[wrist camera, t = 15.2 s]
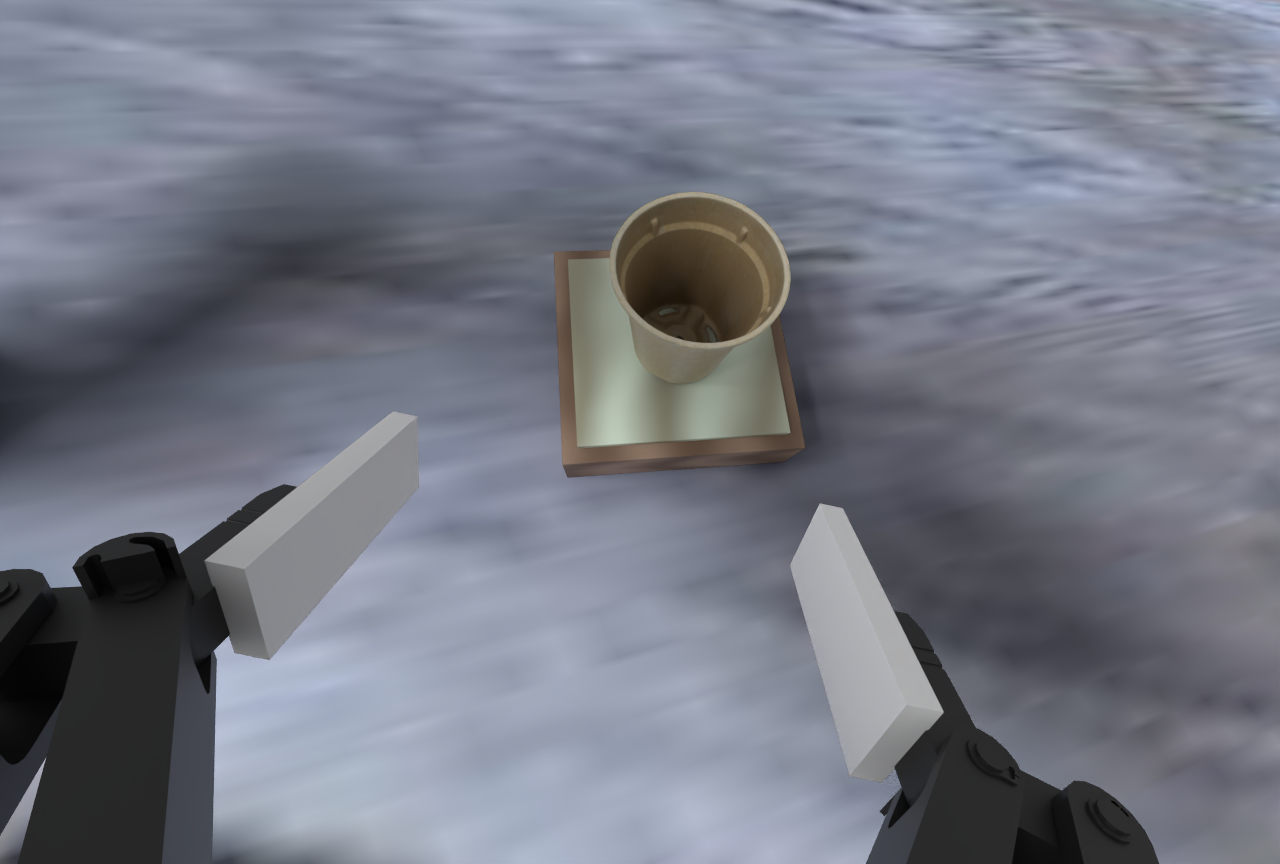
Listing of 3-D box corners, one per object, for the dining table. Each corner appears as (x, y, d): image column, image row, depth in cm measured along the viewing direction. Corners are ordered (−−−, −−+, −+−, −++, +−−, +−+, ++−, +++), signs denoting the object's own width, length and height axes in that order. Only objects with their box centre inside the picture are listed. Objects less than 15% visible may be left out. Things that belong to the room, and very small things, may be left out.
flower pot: (670, 436, 30) (694, 384, 22) (580, 333, 32) (571, 250, 24) (772, 355, 33) (827, 280, 24) (682, 263, 34) (706, 164, 26)
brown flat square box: (567, 477, 34) (562, 463, 29) (559, 284, 38) (553, 248, 34) (783, 461, 35) (807, 446, 31) (750, 277, 40) (767, 241, 35)
